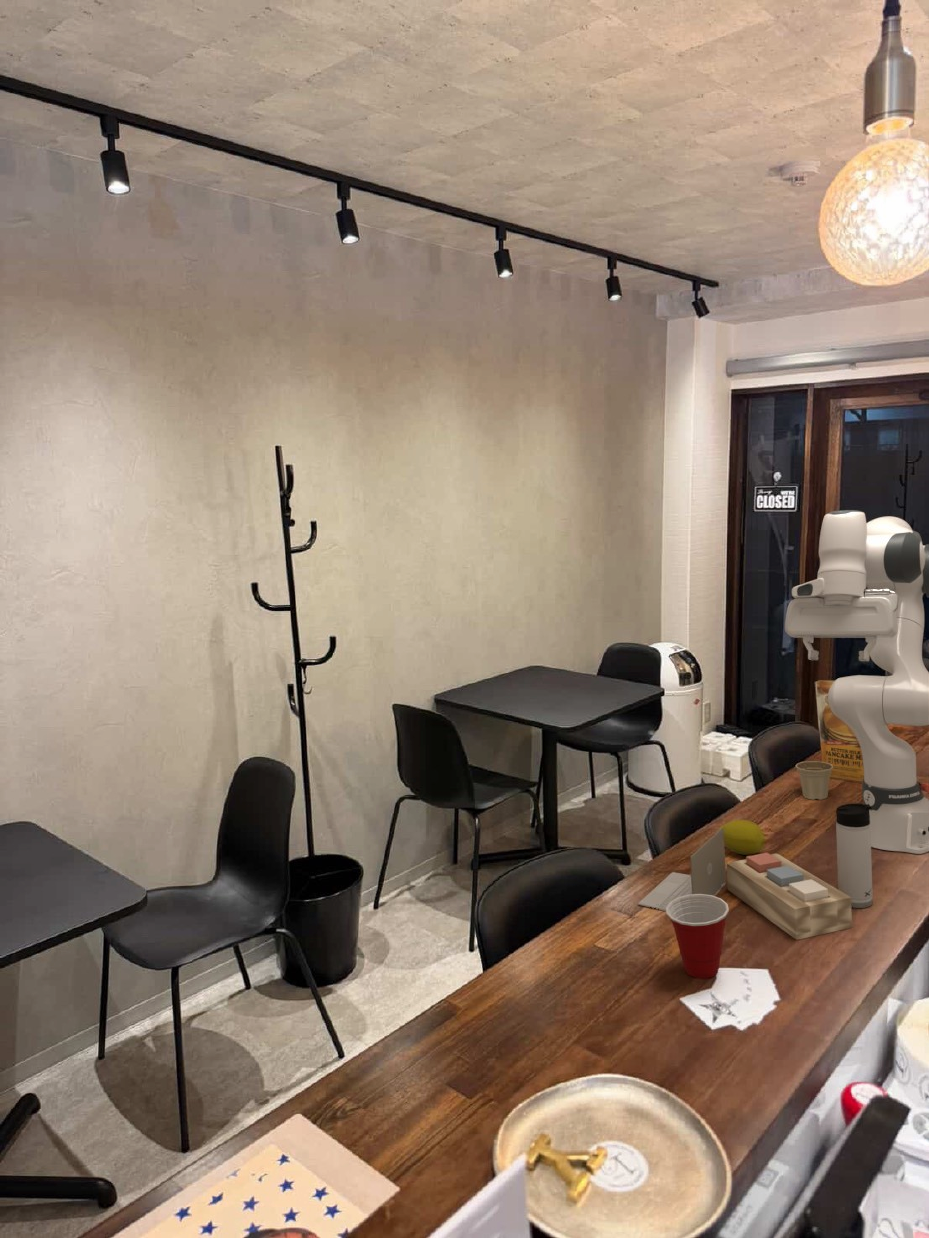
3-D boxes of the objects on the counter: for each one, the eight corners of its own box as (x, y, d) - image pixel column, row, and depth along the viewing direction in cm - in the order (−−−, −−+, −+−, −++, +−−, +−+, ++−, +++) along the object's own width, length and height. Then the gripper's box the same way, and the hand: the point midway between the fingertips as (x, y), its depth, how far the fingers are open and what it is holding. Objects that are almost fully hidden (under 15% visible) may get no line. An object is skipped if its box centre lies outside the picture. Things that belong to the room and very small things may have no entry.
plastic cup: (656, 965, 159) (653, 902, 158) (705, 949, 163) (702, 888, 162) (694, 993, 149) (691, 926, 148) (745, 975, 153) (742, 910, 152)
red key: (767, 866, 187) (767, 852, 187) (781, 874, 182) (781, 860, 182) (746, 870, 186) (746, 856, 185) (760, 879, 181) (759, 865, 181)
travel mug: (878, 908, 174) (875, 810, 171) (842, 908, 175) (839, 811, 173) (870, 895, 180) (867, 800, 177) (835, 894, 181) (832, 800, 179)
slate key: (789, 879, 180) (788, 865, 179) (804, 888, 175) (803, 874, 175) (767, 883, 179) (766, 869, 178) (781, 893, 174) (781, 878, 173)
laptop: (672, 874, 198) (669, 819, 197) (727, 885, 191) (724, 827, 189) (637, 906, 184) (633, 846, 182) (695, 919, 176) (691, 856, 175)
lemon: (773, 852, 205) (771, 819, 204) (757, 863, 200) (755, 829, 199) (730, 843, 213) (728, 811, 212) (713, 853, 207) (712, 821, 206)
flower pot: (802, 789, 247) (801, 759, 246) (837, 793, 241) (836, 762, 240) (792, 799, 239) (791, 768, 238) (829, 804, 234) (827, 772, 233)
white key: (811, 893, 173) (811, 879, 172) (828, 904, 168) (827, 889, 167) (789, 898, 171) (788, 883, 171) (805, 908, 167) (804, 893, 166)
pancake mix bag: (822, 770, 262) (819, 677, 259) (889, 780, 248) (886, 682, 245) (812, 775, 257) (809, 681, 254) (880, 786, 244) (877, 687, 241)
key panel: (777, 879, 190) (776, 853, 190) (852, 927, 167) (851, 897, 166) (727, 889, 187) (726, 862, 187) (796, 939, 164) (795, 909, 164)
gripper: (903, 591, 168) (900, 663, 166) (794, 594, 181) (791, 661, 179) (894, 585, 163) (891, 659, 161) (783, 588, 176) (780, 657, 174)
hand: (838, 660), depth 170 cm, fingers open, 8 cm apart
